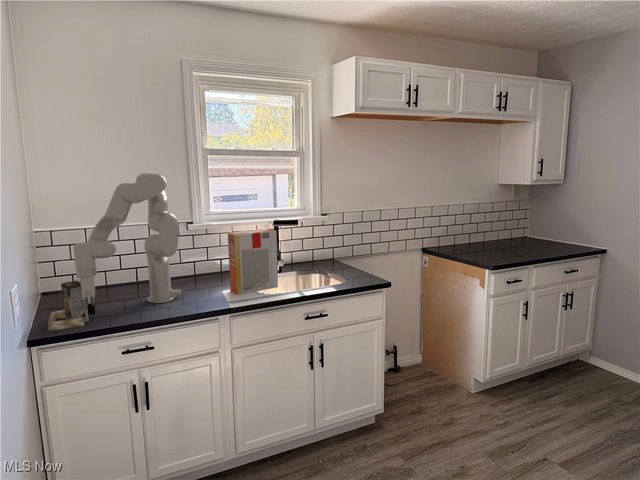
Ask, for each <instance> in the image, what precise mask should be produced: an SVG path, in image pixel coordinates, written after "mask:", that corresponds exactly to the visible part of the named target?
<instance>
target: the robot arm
mask: <svg viewBox="0 0 640 480" xmlns="http://www.w3.org/2000/svg"><path fill="white" fill-rule="evenodd" d="M166 187H167V180H166V178H165V177H164V176H163V175H161V174H159V173H150V172H149V173H148V172H147V173H145V172H144V173H140V174H139V175H137V177H136V179H135V182H131V183H130V182H123V183H119V184H118V185H117V186H116V188H115V190H114V191H113V194H112V196H111V199H110V202H109V204H108V207H107V209H106V211H105V212H104V215H103V216H101V218H100V219H99V221H98V222H97V223H96V224H95V226H94V227H93V229H92V231H91V233H90V235H89V238H88V241H86V242H78V243H75V244H73V256H74V265H75V273H76V278H79V282H80V286H81V297H82V301H83V300H85V298H86V299H87V307H88V315H89V316H90V315H91V316H92V315H96V305H95V301H94V300H95V297H96V285H95V277H96V276H97V275H98V272H97V261H96V260H97V259H99V260H100V259H109V258H111V257H113V256H114V255H115V253H116V251H117V248H116V245H115V243H114V242H112V241H110V240H108V239H109V236H110V235H111V233H112V232H113V231H114V230H115V229H116V228H118V227H120V226H121V225H122V224H124V223H125V222H126V221H127V218H128V215H129V213H130V210H131V209H132V205H133V204H139V203H142V202H144V201H147V208H148V209H147V213H148V214H147V226H148V228H149V229H150V230H152V231H153V232H157V233H158V234H157V233H154V234H150V235H148V236H147V237H146V239H145V241H144V244H143V245H144V251H145V254H146V259H147V268H148V281H149V293H150V295H149V296H148V297H147V298H146V299H147V302H149V303H150V304H151V303H152V304H163V303H164V304H165V303H168V302H171V301H173V300H175V298H176V295H181V294H182V289H178V288H176V289H173V288H172V283H171V282H172V281H171V270H170V260H169V258H170V257H173V256H174V255H175V254H176V253H177V250H178V247H179V234H180V233H179V229H180V225H179V220H178V218H177V217H176V216H175V215H174V214H173V213H171V212H169V211H168V208H169V207H168V196H167V194H166V192H165V190H166Z"/></svg>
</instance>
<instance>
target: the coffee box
mask: <svg viewBox="0 0 640 480" xmlns="http://www.w3.org/2000/svg"><path fill="white" fill-rule="evenodd" d="M60 285H61V292H62V299H63V306H64V310H65V314H66V318H65V320H68V319H75V318H82V317H84V323H86V322H89V321H90V315H88V307H87V299H86V298H85V300H83V301H82V297H81V286H80V280H73V281H67V282H62V283H61V284H60Z"/></svg>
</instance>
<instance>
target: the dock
mask: <svg viewBox="0 0 640 480" xmlns="http://www.w3.org/2000/svg"><path fill="white" fill-rule="evenodd" d="M48 318H49V319H48V322H47V327H48V332H50V331H51V332H52V331H57V330H58V331H59V330H64V329H71V328H76V327H82V326H83V327H84V326H85V322H84V317H82V318H75V319H68V320H66V314H65V309H63V310H58V311H57V310H56V311H51V312H50V316H49V317H48ZM59 319H63V320H59ZM56 320H57V321H56Z"/></svg>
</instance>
